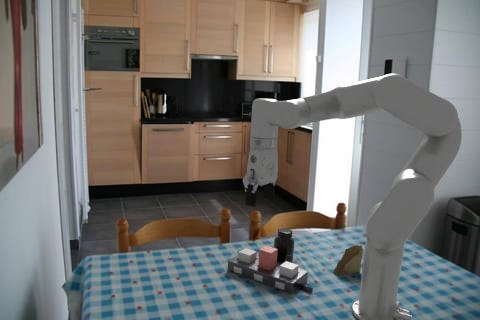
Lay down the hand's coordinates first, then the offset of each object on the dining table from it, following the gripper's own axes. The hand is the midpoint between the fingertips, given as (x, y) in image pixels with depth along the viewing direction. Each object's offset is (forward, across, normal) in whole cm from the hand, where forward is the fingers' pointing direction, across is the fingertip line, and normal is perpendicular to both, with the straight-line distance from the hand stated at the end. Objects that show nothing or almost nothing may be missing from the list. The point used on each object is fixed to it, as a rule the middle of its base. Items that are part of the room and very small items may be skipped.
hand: (259, 201), depth 124 cm
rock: (+27, +28, -18) cm, 43 cm away
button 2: (+23, +7, 0) cm, 24 cm away
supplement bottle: (+27, +19, +1) cm, 33 cm away
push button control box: (+26, +7, -2) cm, 27 cm away
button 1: (+26, +7, -8) cm, 28 cm away
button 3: (+26, +7, +8) cm, 28 cm away
